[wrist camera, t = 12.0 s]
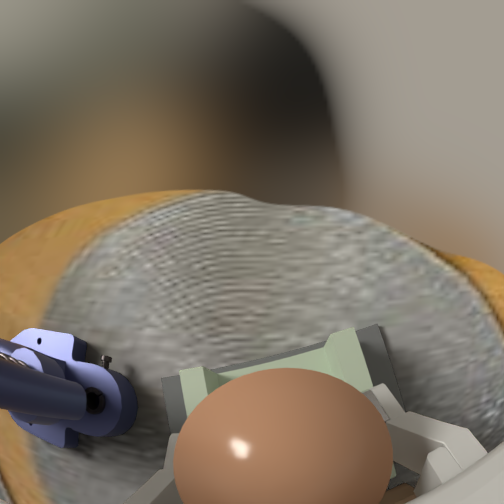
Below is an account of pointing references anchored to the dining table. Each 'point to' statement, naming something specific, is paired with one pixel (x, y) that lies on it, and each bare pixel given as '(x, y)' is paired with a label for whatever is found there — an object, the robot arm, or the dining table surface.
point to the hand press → (62, 389)
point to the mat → (367, 339)
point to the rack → (322, 360)
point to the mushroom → (283, 443)
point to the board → (398, 495)
